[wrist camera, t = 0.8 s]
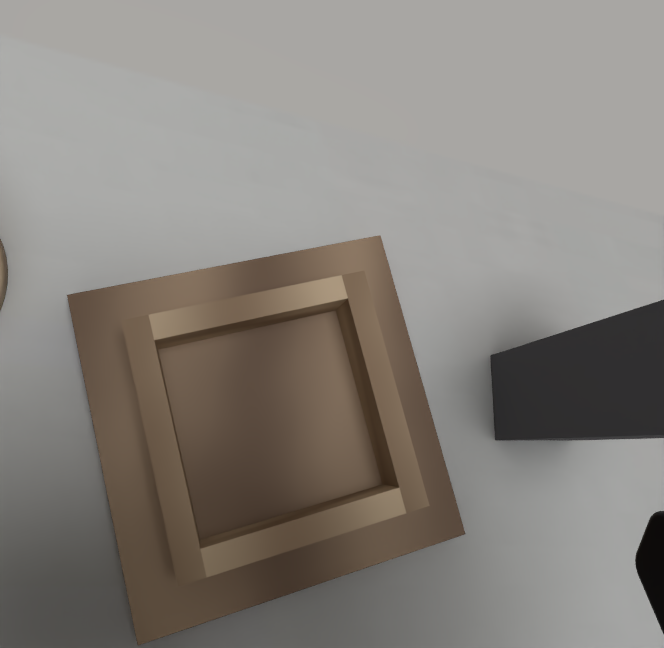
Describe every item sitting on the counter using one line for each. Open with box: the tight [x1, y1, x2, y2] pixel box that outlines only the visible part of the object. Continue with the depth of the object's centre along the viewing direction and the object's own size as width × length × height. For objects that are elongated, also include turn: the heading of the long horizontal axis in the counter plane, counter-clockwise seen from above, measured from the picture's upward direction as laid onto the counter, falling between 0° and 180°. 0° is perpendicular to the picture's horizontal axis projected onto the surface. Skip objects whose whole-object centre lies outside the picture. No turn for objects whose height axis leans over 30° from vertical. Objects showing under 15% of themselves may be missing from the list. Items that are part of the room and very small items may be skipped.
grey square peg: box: [491, 300, 664, 440], centre depth 18 cm, size 3×3×11 cm
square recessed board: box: [67, 236, 465, 645], centre depth 20 cm, size 11×11×3 cm
